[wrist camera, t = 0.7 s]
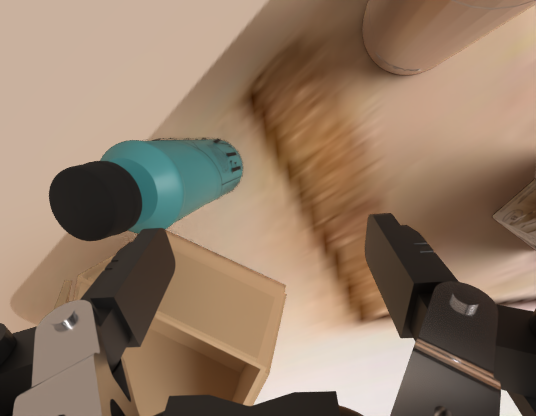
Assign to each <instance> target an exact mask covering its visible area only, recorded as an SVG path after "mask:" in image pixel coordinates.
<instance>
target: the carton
mask: <svg viewBox="0 0 536 416" xmlns="http://www.w3.org/2000/svg"><path fill="white" fill-rule="evenodd" d="M165 231H166V233H167V236H168V239H169V242H170V245H171V248H172V251H173V254H174V257H175V262H176V266H175V272H174V275H173V277H172V279H171V281H170V283H169V285H168V288H167V290H166V292H165V294H164V296H163V299H162V301H161V303H160V305H159V307H158V309H157V312H156V314H155V316H154V318H153V320H152V323H151V325H150V327H149V329H148V331H147V334H146V336H145V338H144V340H143V342H142V344H141V347H129V348H126V349H125V351H124V353H123V355H122V357H123V358H124V361H125V364H126V368H127V372H128V376H129V379H130V383H131V387H132V391H133V395H134V399H135V403H136V406H137V409H138V412H139V415H140V416H154V415H156V414H158V413H160V412H162V411H165V408H166V405H167V401H168V398H169V396H179V395H212V396H215V397H219V398H222V399H226V400H229V401H232V402H236V403H239V404H243V405H247V406H253V404H254V402H255V400H256V398H257V396H258V395H259V393H260V391H261V389H262V387H263V385H264V383H265V381H266V379H267V377H268V375H269V372H270V368H271V363H272V359H273V354H274V349H275V345H276V340H277V336H278V331H279V326H280V322H281V317H282V313H283V308H284V303H285V299H286V294H285V293H284V292H285V288H286V285H284V284H281V283H279V282H277V281H275V280H273V279H271V278H268V277H266V276H264V275H262V274H260V273H258V272H255V271H253V270H251V269H249V268H247V267H245V266H242V265H240V264H238V263H236V262H234V261H232V260H229V259H227V258H225V257H223V256H221V255H219V254H216V253H214V252H212V251H210V250H208V249H206V248H203V247H201V246H199V245H197V244H195V243H193V242H190V241H188V240H186V239H184V238H182V237H180V236H177V235H175V234H173V233H171V232H169V231H167V230H165ZM115 255H116V254H115ZM115 255H113V256H112V257H110V258H108V259H106V260H105V261H103V262H101V263H99V264H97V265H96V266H94V267H92V268H90V269H89V270H87V271H85V272H83V273H82V274H80V275H78V277H77V283H76V288H75V293H74V298H73V301H76V300H80V299H81V298H82V296H83V295H84V294H85V292H86V291H87V290H88V289H89V287H90V286H91V285H92V284H93V282H94V281H95V280H96V279H97V277H98V276H99V275H100V274H101V272H102V271H104V270H105V267H106V266H107V265H108V263H109V262H111V260H112V258H113V257H114V256H115Z"/></svg>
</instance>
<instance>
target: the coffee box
mask: <svg viewBox="0 0 536 416" xmlns="http://www.w3.org/2000/svg"><path fill="white" fill-rule="evenodd" d="M493 218H494V219H495V220H496V221H498V222H499V223H500V224H502V225H503V226H504V227H506V228H507V229H508V230H510V231H511V232H512V233H513V234H515V235H516V236H517V237H519V238H520V239H521V240H523V241H524V242H525V243H527V244H528V245H530V246H531V247H532V248H534V249H535V250H536V179H535V180H533V181H532V182H531V183H530V184H529V185H528V186H526V187H525V188H524V189H523V190H522V191H521V192H519V193H518V194H517V195H516V196H515V197H514V198H513V199H511V200H510V201H509V202H508V203H507V204H506V205H504V206H503V207H502V208H501V209H500V210H499V211H498V212H496V213H495V214H494V215H493Z"/></svg>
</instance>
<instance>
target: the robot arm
mask: <svg viewBox="0 0 536 416" xmlns="http://www.w3.org/2000/svg"><path fill="white" fill-rule="evenodd" d="M535 4H536V0H369V1H368V4H367V7H366V10H365V14H364V18H363V28H362V33H363V40H364V44H365V47H366V50H367V52H368V54H369V55H370V57H371V58H372V60H373V61H374V62H375V63H376V64H377V65H378V66H380V67H381V68H383V69H384V70H386V71H388V72H391V73H395V74H398V75H413V74H418V73H422V72H424V71H427V70H429V69H432V68H433V67H435V66H437V65H438V64H440V63H442V62H443V61H445V60H447V59H448V58H450V57H451V56H453V55H455V54H457V53H458V52H460V51H462V50H463V49H465V48H466V47H468V46H470V45H471V44H473V43H474V42H476V41H478V40H479V39H481V38H482V37H484V36H486V35H487V34H489V33H490V32H492V31H494V30H495V29H497V28H498V27H500V26H502V25H503V24H505V23H506V22H508V21H510V20H511V19H513V18H514V17H516V16H518V15H519V14H521V13H522V12H524V11H526V10H527V9H529V8H531V7H532V6H534V5H535ZM365 257H366V261H367V264H368V266H369V268H370V271H371V273H372V275H373V277H374V280H375V282H376V284H377V286H378V289H379V291H380V293H381V295H382V298H383V300H384V302H385V304H386V307H387V309H388V311H389V313H390V315H391V318H392V320H393V322H394V324H395V327H396V329H397V331H398V333H399V336H400V338H414V340H415V345H414V348H413V351H412V354H411V357H410V360H409V362H408V365H407V368H406V371H405V374H404V377H403V380H402V383H401V386H400V389H399V392H398V395H397V397H396V400H395V403H394V406H393V409H392V412H391V415H390V416H499V414H500V398H501V389H502V390H505V391H507V392H508V393H509V395H510V397H511V398H512V400H513V401H514V403H515V405H516V406H517V408H518V409H519V411H520V412H521V414H522V416H536V309H535V311H534V312H533V311H528V310H522V309H517V308H512V307H506V306H501V305H497V304H495V302H494V301H493V300H492V299H491V298H490V297H489V296H488V295H487V294H486V293H484V292H483V291H481V290H479V289H478V288H476V287H474V286H471V285H468V284H465V283H461V282H459V281H458V280H457V279H456V278H455V276H454V275H453V274H452V273H451V271H450V270H449V269H448V268H447V267H446V265H445V264H444V263H443V262H442V260H441V259H440V258H439V257H438V255H437V254H436V253H434V252H433V249H432V248H431V247H430V246H429V244H427V242H426V241H425V239H424V238H423V237H422V236H421V235H420V233H418V232H417V231H415V230H414V229H412V228H410V227H409V226H407V225H402V226H401V225H400V224H399V223H398V221H397V220H396V219H395V217H394V216H393V215H392V214H391V213H384V214H370V215H369V217H368V222H367V231H366V240H365ZM175 266H176V262H175V257H174V254H173V251H172V248H171V245H170V242H169V239H168V236H167V233H166V231H165V229H164V228H150V229H142V230H141V231H140V233H139V234H138V235H137V237H136V238H135V239H134V241H133V242H130V243H128V244H127V245H126V246H124V247H123V248H122V249H120V250H119V251H118V252H117V253H116V255H115V256H114V257H113V258H112V260H111V262H109V263H108V265H107V266H106V267H105V270H104V271H102V272H101V274H100V275H99V276H98V277H97V279H96V280H95V281H94V282H93V284H92V285H91V286H90V287H89V289H88V290H87V291H86V292H85V294H84V295H83V296H82V298H81V299H80V300H76V301H72V302H68V303H66V304H64V305H61V306H59V307H58V308H56V309H54V310H53V311H52V312H50V313H49V314H48V315H47V316H45V317H44V318H43V319H42V321H41V322H40V323H39V325H38V326H37V327H33V328H30V329H27V330H23V331H20V332H16V333H13V334H12V333H11V332H10V331H9V330H8V329H7V328H6V326H5V325H4V324H1V323H0V416H140V415H139V412H138V409H137V406H136V403H135V399H134V395H133V391H132V387H131V383H130V379H129V376H128V372H127V368H126V364H125V361H124V358H123V357H122V355H123V353H124V351H125V349H126V348H129V347H141V344H142V342H143V340H144V338H145V336H146V334H147V331H148V329H149V327H150V325H151V323H152V320H153V318H154V316H155V314H156V312H157V309H158V307H159V305H160V303H161V301H162V299H163V296H164V294H165V292H166V290H167V288H168V285H169V283H170V281H171V279H172V277H173V275H174V272H175ZM154 416H363V415H361V414H360V413H358V412H356V411H353V410H351V409H349V408H346V407H343V406H339V405H338V400H337V395H336V391H331V392H294V393H291V394H287V395H284V396H281V397H278V398H275V399H272V400H269V401H266V402H263V403H260V404H257V405H253V406H247V405H243V404H239V403H236V402H232V401H229V400H226V399H222V398H219V397H215V396H212V395H179V396H169V398H168V401H167V405H166V408H165V411H162V412H160V413H158V414H156V415H154Z"/></svg>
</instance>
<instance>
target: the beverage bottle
mask: <svg viewBox="0 0 536 416" xmlns="http://www.w3.org/2000/svg"><path fill="white" fill-rule="evenodd" d="M168 139H169V138H168ZM171 139H172V138H171ZM185 139H186V138H185ZM188 139H189V138H188ZM190 139H191V138H190ZM193 139H194V138H193ZM202 139H204V138H202ZM225 141H226V140H225ZM225 141H224V140H223V141H222V140H220V138H219V139H207V140H205V139H204V140H198V139H196V140H176V139H174V140H167V139H166V140H161V139H155V140H152V141H139V140H130V141H124V142H121V143H118V144H116V145H114V146H113V147H111V148H110V149H109V150H108V151H106V153H105V154H104V155H103V156H102V158H101V160H100V161H94V162H89V163H86V164H83V165H78V166H73V167H69V168H67V169H65V170H63V171H61V172H60V173H58V174H57V175H56V177H55V178H54V180H53V181H52V183H51V186H50V191H49V201H50V206H51V209H52V212H53V214H54V216H55V218H56V220H57V221H58V222H59V224H60V225H61V226H62V227H63V229H65V230H66V231H67V232H68V233H69V234H71V235H72V236H74V237H76V238H78V239H81V240H85V241H96V240H101V239H104V238H107V237H109V236H112V235H117V234H120V233H122V232H125V231H127V230H129V231H131V232H134V233H138V234H139V233H140V231H141V230H142V229H150V228H164V229H166V228H168V227H170V226H171V225H172V224H173V223H175V222H176V221H178V220H180V219H181V218H183V217H185V216H187V215H188V214H190V213H192V212H193V211H195V210H197V209H199V208H200V207H202V206H204V205H205V204H207V203H210V202H212V201H213V200H215V199H217V198H219V197H220V198H221V196H222V195H224V194H226V193H227V194H228V193H230V191H231V190H235V189H234V188H235V187H236V186H237V184H238V183H239V182H240V179H241V176H243V175H242V171H243V166H242V163H243V162H242V160H241V159H242V158H241V157H240V155H239V153H238V152H237V151H236V150H237V149H235V148H234V147H233V146H231V145H230V144H229V143H227V142H225ZM236 188H237V187H236ZM222 197H223V196H222Z"/></svg>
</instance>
